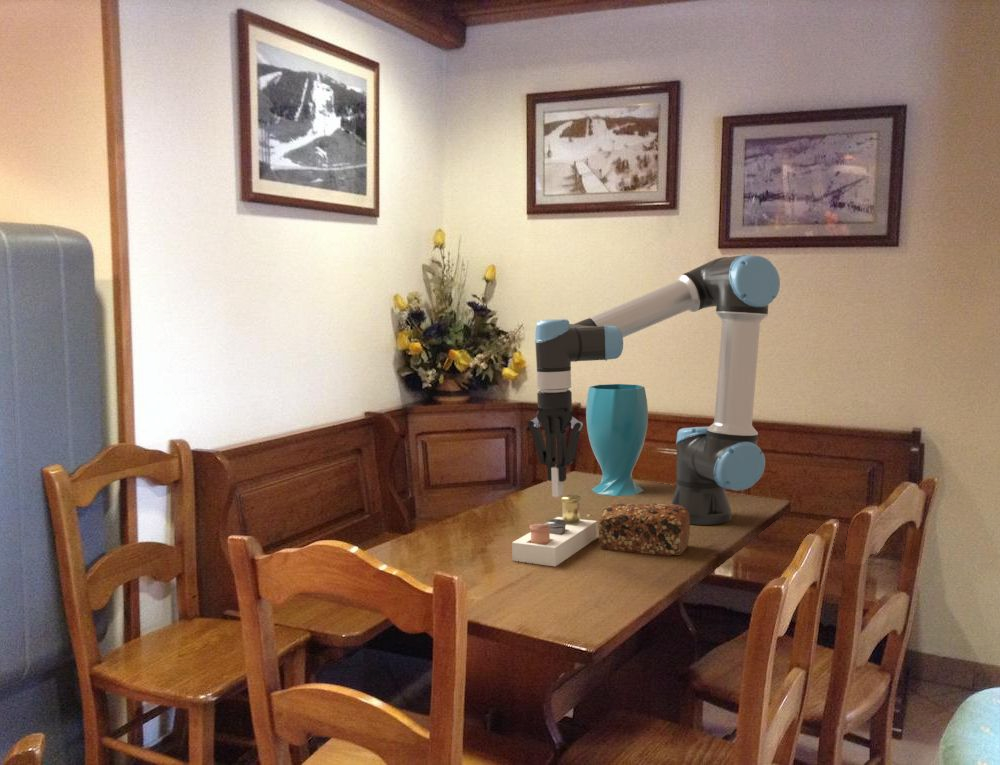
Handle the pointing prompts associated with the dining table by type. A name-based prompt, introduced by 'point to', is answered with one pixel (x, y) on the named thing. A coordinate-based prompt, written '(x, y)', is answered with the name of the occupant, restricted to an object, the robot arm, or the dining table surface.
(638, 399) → the vase
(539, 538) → the terracotta plug
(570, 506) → the brass plug
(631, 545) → the bread
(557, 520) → the grey plug
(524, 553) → the slab
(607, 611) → the dining table surface
